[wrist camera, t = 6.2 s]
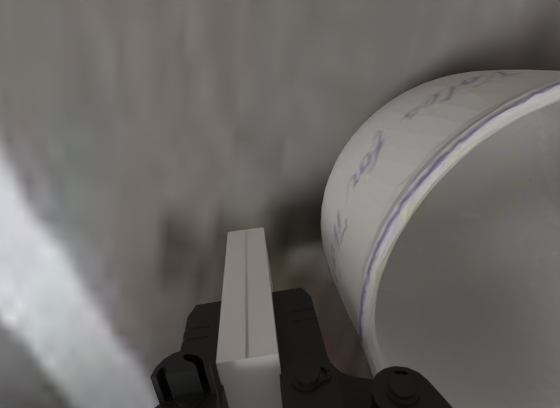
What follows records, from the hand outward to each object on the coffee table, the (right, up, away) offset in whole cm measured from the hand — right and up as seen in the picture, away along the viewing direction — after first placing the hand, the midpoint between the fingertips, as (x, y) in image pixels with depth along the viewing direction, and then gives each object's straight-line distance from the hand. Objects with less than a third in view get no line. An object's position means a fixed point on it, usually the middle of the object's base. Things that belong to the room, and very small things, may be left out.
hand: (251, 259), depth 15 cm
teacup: (+7, +2, +2) cm, 8 cm away
